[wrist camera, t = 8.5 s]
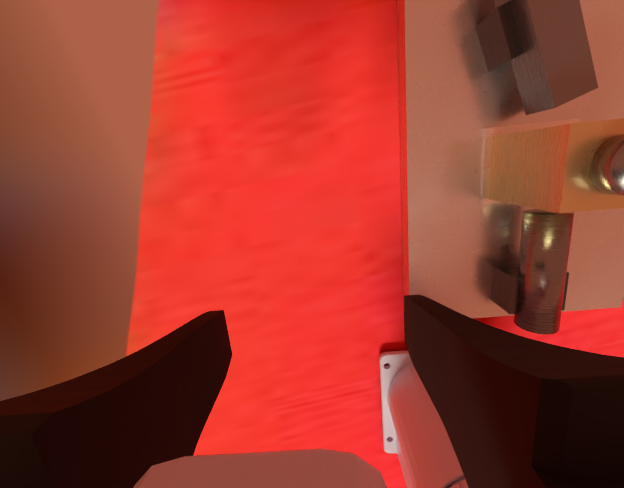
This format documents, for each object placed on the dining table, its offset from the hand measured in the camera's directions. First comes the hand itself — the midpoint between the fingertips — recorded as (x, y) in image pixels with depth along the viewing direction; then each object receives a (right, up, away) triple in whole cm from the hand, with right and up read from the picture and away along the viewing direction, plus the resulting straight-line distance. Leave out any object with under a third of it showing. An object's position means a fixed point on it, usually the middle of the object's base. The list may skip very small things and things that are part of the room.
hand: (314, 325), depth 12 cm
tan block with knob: (+13, +8, +6) cm, 16 cm away
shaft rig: (+13, +8, +7) cm, 17 cm away
